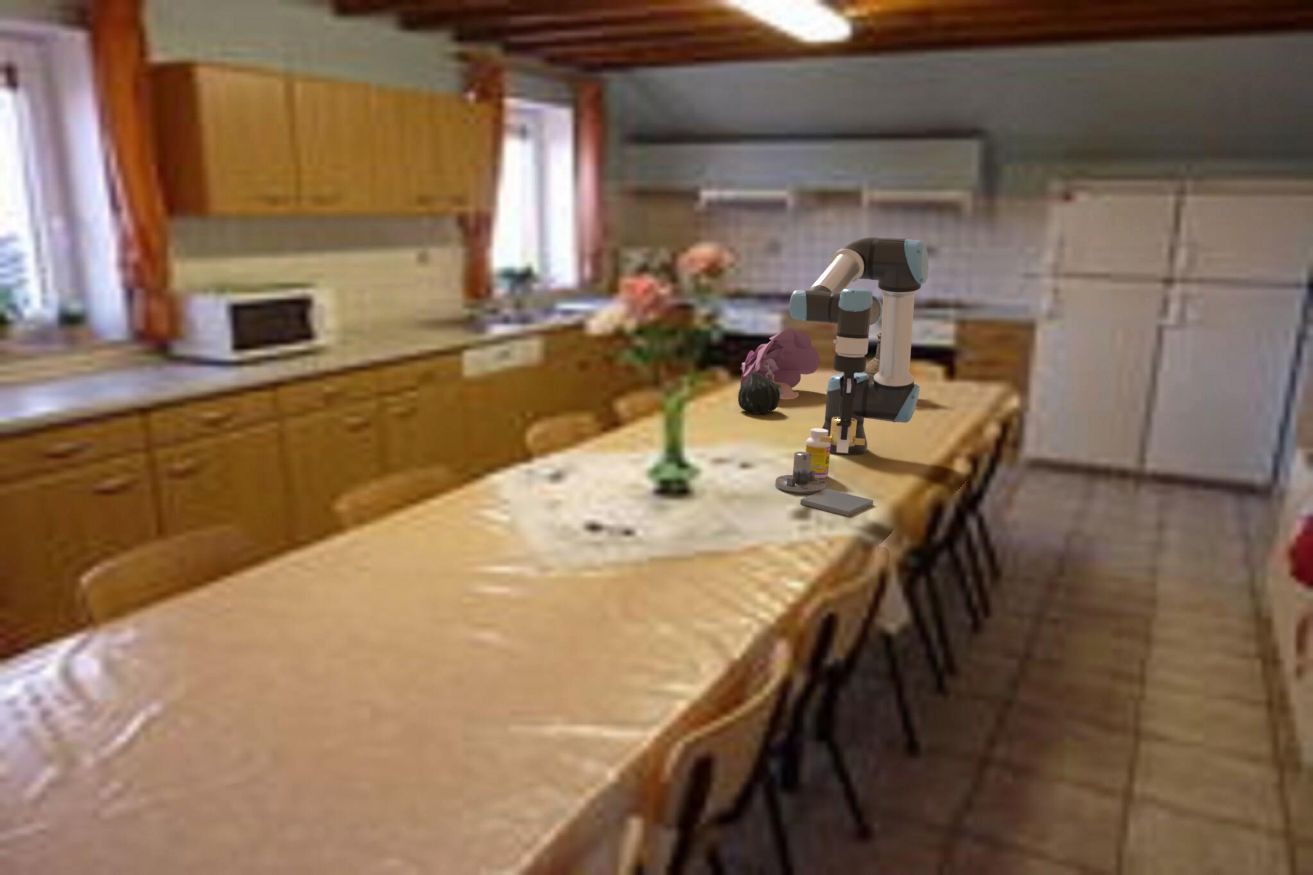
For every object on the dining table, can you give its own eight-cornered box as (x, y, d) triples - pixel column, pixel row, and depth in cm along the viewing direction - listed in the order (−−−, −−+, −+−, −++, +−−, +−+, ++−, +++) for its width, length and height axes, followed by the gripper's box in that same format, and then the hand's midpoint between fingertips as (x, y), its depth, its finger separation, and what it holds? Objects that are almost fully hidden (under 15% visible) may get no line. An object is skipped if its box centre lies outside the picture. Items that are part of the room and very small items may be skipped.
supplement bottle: (827, 480, 254) (831, 433, 251) (802, 477, 255) (806, 431, 252) (828, 473, 260) (832, 428, 257) (803, 471, 261) (807, 426, 258)
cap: (863, 442, 231) (866, 417, 230) (864, 448, 225) (867, 422, 224) (819, 439, 233) (822, 414, 231) (820, 444, 227) (822, 419, 225)
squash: (793, 398, 336) (769, 363, 338) (775, 406, 324) (750, 370, 326) (765, 419, 344) (742, 385, 346) (746, 427, 332) (722, 392, 334)
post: (791, 477, 255) (794, 445, 253) (834, 487, 247) (837, 454, 245) (765, 486, 245) (768, 453, 243) (809, 498, 237) (812, 463, 235)
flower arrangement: (776, 416, 354) (793, 346, 342) (722, 396, 364) (736, 326, 352) (813, 394, 382) (829, 328, 371) (761, 375, 392) (775, 311, 381)
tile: (826, 493, 242) (827, 488, 241) (872, 504, 234) (873, 500, 233) (800, 503, 232) (800, 499, 232) (847, 516, 224) (848, 511, 224)
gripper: (833, 348, 234) (825, 439, 239) (835, 359, 215) (826, 457, 221) (864, 350, 232) (855, 441, 238) (868, 361, 214) (859, 459, 220)
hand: (841, 448), depth 229 cm, fingers closed on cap, 6 cm apart
